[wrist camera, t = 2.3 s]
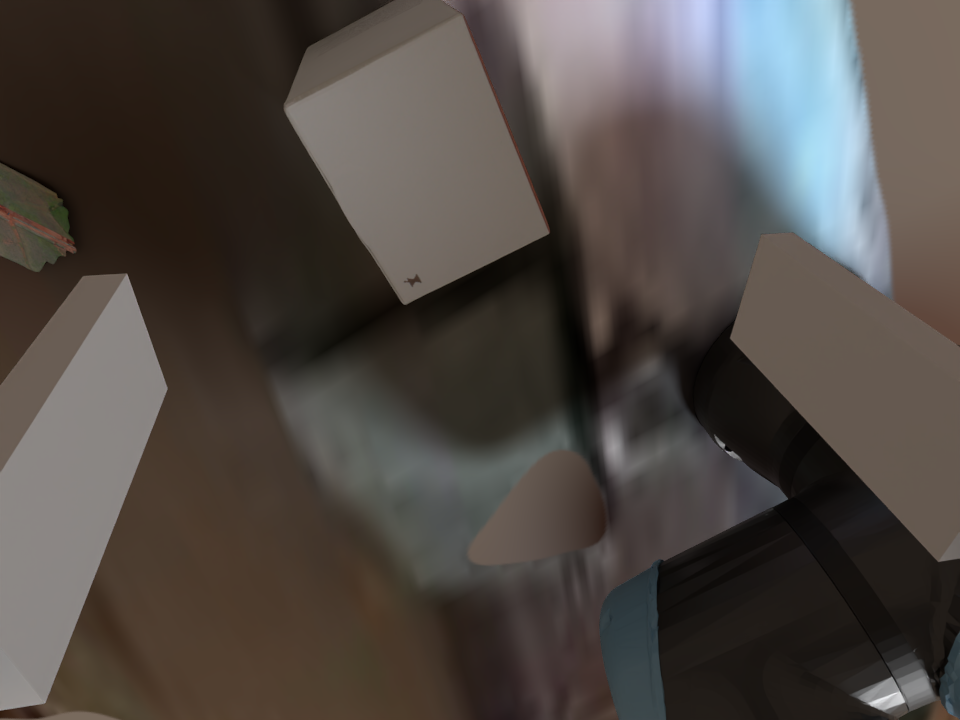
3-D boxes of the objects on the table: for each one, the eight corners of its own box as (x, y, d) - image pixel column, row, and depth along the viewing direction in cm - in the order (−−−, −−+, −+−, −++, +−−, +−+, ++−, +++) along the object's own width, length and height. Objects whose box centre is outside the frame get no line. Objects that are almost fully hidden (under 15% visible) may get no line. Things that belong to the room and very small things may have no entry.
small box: (490, 140, 33) (555, 238, 22) (386, 193, 34) (402, 312, 23) (421, -20, 28) (464, 8, 18) (302, 45, 29) (274, 109, 18)
